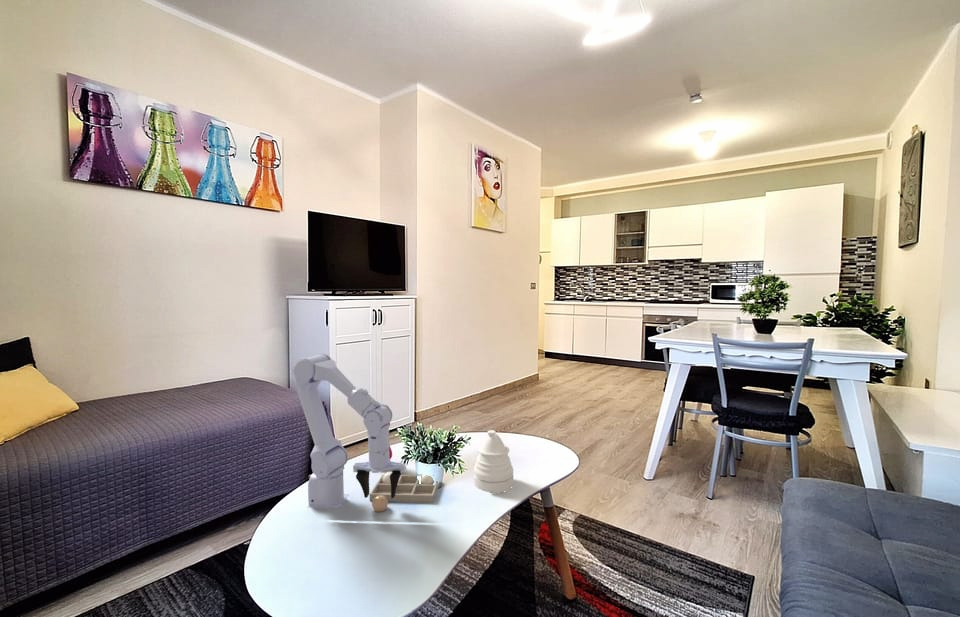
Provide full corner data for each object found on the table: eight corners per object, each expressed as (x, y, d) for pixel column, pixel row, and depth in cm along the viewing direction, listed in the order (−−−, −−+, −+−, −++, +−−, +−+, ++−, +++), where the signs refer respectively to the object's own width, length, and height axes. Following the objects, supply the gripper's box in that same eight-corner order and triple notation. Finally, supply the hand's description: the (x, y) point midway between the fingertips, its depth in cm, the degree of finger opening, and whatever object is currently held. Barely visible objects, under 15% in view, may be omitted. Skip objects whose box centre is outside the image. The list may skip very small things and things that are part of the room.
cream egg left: (380, 488, 131) (380, 475, 131) (384, 482, 135) (384, 469, 135) (394, 489, 131) (394, 475, 131) (398, 482, 135) (398, 469, 135)
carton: (369, 502, 124) (369, 494, 124) (382, 482, 137) (382, 474, 137) (433, 504, 123) (432, 495, 123) (439, 483, 136) (439, 475, 135)
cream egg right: (419, 489, 130) (419, 475, 130) (422, 483, 135) (421, 469, 134) (433, 490, 130) (433, 476, 130) (435, 483, 134) (435, 470, 134)
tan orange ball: (370, 515, 117) (369, 499, 117) (374, 506, 121) (374, 492, 121) (385, 515, 117) (385, 500, 116) (389, 507, 121) (389, 492, 121)
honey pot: (507, 496, 127) (507, 438, 126) (468, 490, 131) (467, 434, 130) (517, 478, 139) (517, 425, 138) (481, 473, 143) (480, 421, 142)
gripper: (348, 454, 115) (350, 502, 115) (400, 455, 114) (401, 503, 114) (357, 445, 122) (358, 490, 122) (406, 445, 121) (407, 491, 121)
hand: (380, 496), depth 119 cm, fingers open, 7 cm apart
